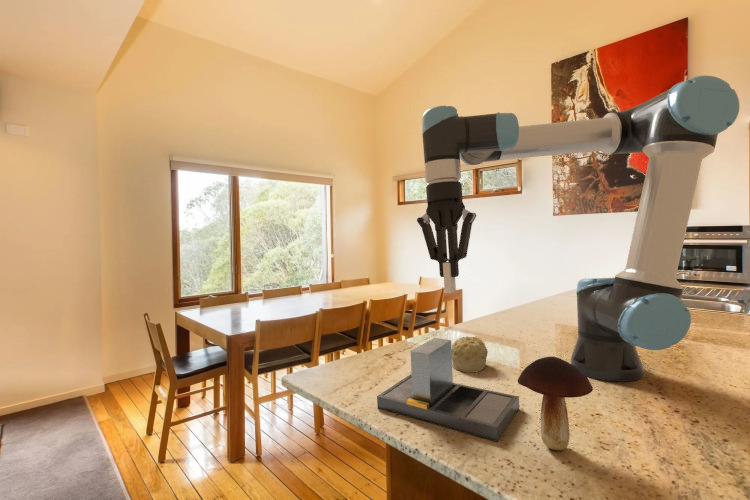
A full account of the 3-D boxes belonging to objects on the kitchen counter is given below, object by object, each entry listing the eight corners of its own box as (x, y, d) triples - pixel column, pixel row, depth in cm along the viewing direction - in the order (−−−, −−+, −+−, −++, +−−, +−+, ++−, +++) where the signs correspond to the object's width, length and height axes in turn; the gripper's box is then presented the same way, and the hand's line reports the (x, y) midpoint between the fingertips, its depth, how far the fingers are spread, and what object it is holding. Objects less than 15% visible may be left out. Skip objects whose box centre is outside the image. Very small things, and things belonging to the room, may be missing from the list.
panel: (453, 394, 81) (451, 340, 81) (430, 414, 73) (428, 353, 72) (436, 391, 84) (434, 337, 83) (413, 410, 75) (410, 350, 75)
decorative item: (475, 387, 95) (498, 357, 94) (442, 364, 96) (465, 333, 95) (472, 374, 104) (494, 346, 103) (443, 352, 106) (464, 324, 104)
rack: (519, 408, 75) (518, 392, 75) (496, 442, 64) (496, 423, 63) (411, 384, 89) (410, 370, 89) (377, 408, 78) (376, 392, 78)
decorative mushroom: (508, 433, 66) (506, 349, 65) (568, 428, 67) (566, 345, 66) (541, 472, 55) (538, 372, 55) (611, 465, 56) (610, 366, 55)
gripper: (479, 179, 80) (485, 290, 81) (423, 187, 87) (430, 288, 88) (466, 176, 74) (473, 296, 75) (408, 185, 81) (415, 294, 82)
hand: (450, 292), depth 81 cm, fingers closed
